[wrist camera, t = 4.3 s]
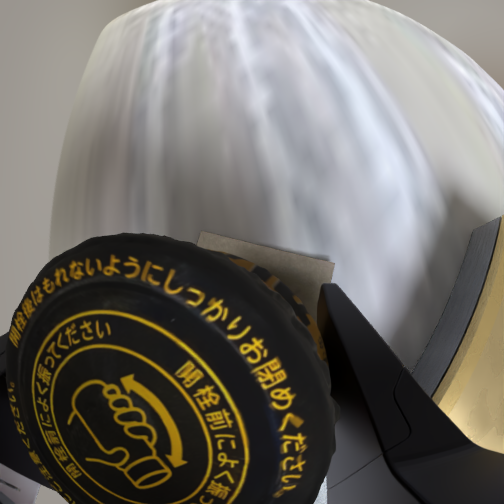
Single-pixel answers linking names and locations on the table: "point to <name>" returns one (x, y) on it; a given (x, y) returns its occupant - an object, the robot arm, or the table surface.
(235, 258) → the condiment
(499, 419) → the gold square tray
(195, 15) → the table surface
